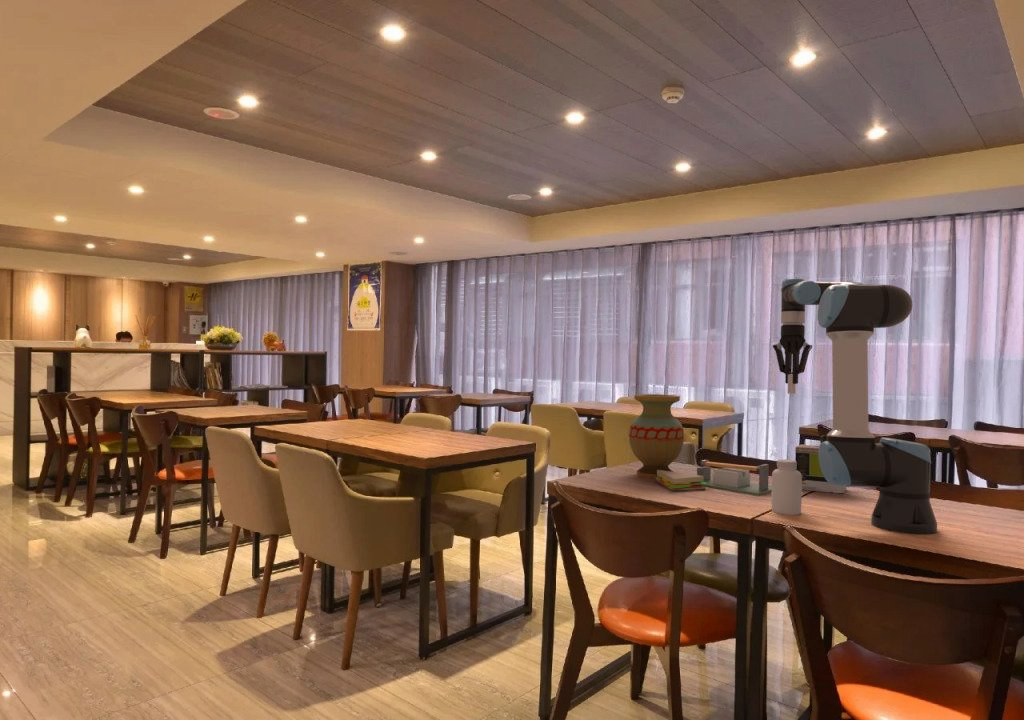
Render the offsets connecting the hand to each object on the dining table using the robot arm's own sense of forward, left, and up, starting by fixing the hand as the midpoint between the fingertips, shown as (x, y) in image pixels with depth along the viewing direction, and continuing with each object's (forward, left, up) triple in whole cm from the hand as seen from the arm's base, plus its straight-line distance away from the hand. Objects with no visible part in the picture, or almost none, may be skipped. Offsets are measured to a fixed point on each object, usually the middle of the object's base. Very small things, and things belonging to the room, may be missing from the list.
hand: (791, 393), depth 234 cm
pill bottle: (-38, -16, -33) cm, 53 cm away
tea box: (+6, -8, -33) cm, 34 cm away
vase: (-18, +42, -33) cm, 56 cm away
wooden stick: (-15, +24, -25) cm, 38 cm away
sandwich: (-29, +26, -33) cm, 51 cm away
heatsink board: (-15, +24, -32) cm, 43 cm away
